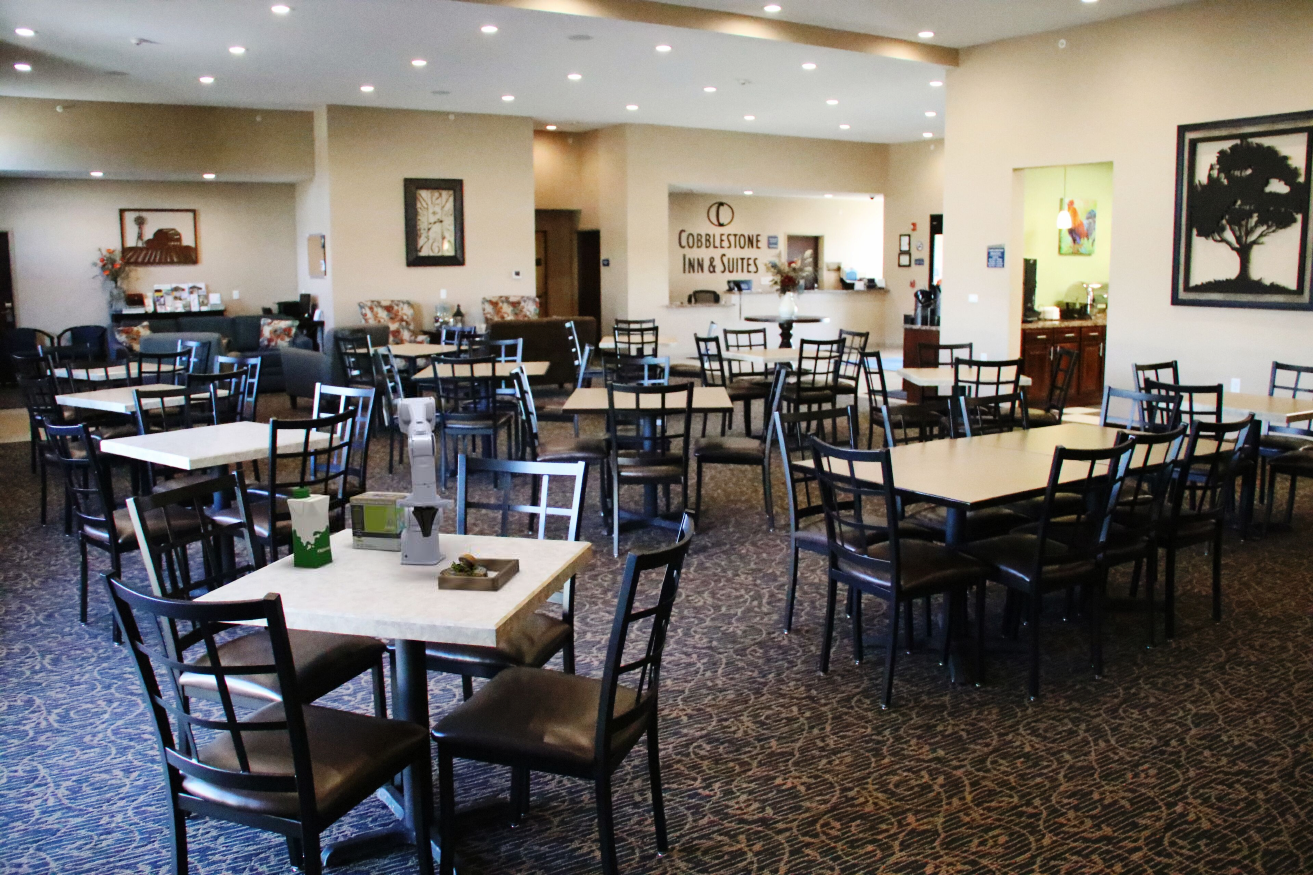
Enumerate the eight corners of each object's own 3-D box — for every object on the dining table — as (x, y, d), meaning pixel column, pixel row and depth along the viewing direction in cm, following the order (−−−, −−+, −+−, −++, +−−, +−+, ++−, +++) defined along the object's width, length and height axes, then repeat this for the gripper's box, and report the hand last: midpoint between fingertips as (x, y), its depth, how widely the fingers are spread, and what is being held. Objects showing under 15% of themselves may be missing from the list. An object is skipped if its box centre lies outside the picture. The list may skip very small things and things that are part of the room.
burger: (433, 576, 260) (431, 547, 259) (477, 569, 266) (476, 540, 265) (450, 588, 250) (448, 558, 249) (495, 580, 256) (494, 550, 255)
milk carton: (309, 558, 279) (304, 485, 275) (338, 560, 276) (333, 487, 273) (288, 567, 270) (282, 492, 267) (317, 569, 267) (311, 494, 264)
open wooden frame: (438, 589, 248) (437, 576, 248) (464, 568, 265) (463, 557, 265) (497, 591, 246) (496, 578, 245) (519, 570, 263) (518, 559, 262)
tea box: (418, 543, 293) (415, 492, 290) (398, 552, 283) (395, 499, 281) (372, 539, 298) (369, 489, 295) (351, 548, 288) (348, 496, 286)
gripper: (389, 485, 253) (392, 539, 255) (445, 486, 250) (448, 540, 252) (401, 479, 260) (404, 532, 262) (456, 480, 257) (459, 533, 259)
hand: (426, 536), depth 258 cm, fingers closed
